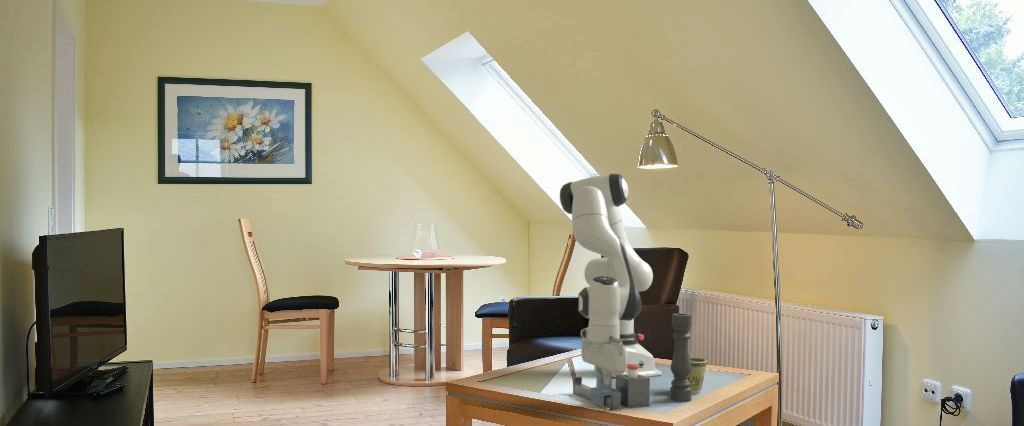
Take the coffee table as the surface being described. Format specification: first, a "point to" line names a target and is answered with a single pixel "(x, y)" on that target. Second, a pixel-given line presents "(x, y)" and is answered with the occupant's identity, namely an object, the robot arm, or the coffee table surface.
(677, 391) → the candle holder
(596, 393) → the carriage
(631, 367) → the gauge button
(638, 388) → the cabinet
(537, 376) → the coffee table surface
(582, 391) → the rail
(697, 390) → the ceramic cup
